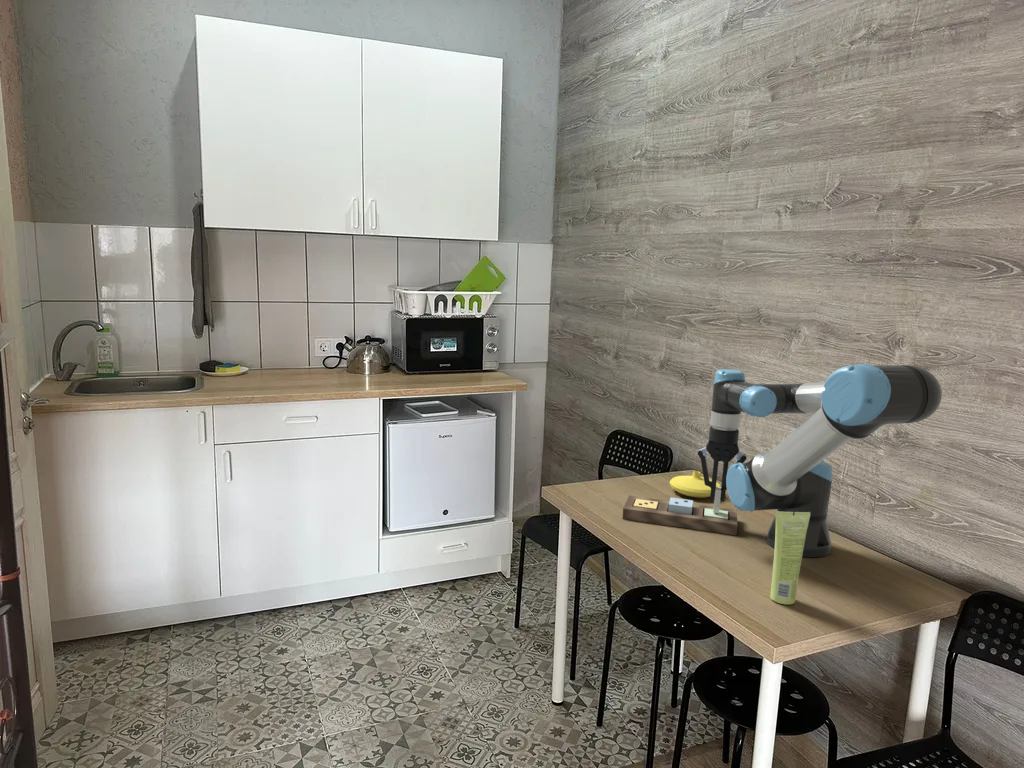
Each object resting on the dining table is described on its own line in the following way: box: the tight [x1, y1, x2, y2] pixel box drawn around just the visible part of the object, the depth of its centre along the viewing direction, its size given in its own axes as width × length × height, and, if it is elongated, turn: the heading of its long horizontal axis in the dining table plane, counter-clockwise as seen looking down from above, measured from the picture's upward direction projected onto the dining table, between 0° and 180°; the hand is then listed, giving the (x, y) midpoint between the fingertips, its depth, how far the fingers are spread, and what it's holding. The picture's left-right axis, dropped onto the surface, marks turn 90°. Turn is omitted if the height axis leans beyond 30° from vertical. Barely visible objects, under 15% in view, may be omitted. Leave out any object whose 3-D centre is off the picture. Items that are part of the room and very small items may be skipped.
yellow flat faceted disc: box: [669, 470, 721, 499], centre depth 214 cm, size 16×16×7 cm
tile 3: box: [633, 499, 658, 510], centre depth 193 cm, size 6×6×3 cm
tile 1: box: [704, 508, 728, 520], centre depth 188 cm, size 6×6×3 cm
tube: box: [769, 510, 810, 606], centre depth 144 cm, size 6×5×20 cm
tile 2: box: [668, 497, 694, 515], centre depth 190 cm, size 6×6×3 cm
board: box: [622, 495, 739, 536], centre depth 190 cm, size 30×12×3 cm, turn 73°
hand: (716, 511), depth 187 cm, fingers closed
